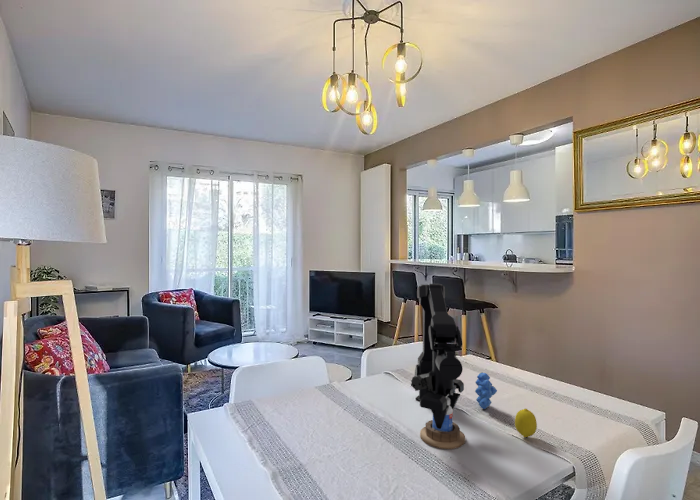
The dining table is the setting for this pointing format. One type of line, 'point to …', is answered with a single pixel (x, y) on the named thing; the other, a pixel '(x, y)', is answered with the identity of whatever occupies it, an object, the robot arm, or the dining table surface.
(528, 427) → the lemon
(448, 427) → the pill bottle
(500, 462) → the dining table surface
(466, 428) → the dining table surface
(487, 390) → the grapes
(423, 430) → the socket
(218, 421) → the dining table surface
